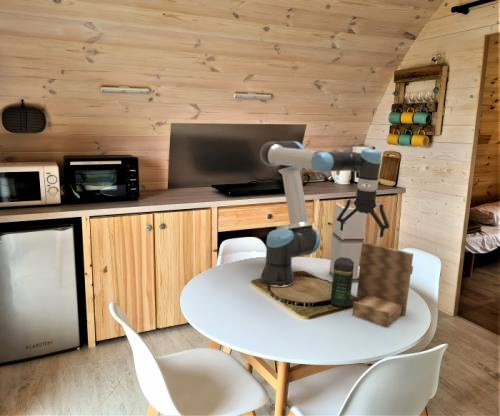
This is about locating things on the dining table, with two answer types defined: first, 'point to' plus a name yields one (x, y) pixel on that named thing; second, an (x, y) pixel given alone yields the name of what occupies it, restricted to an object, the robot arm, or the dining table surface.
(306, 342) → the dining table surface
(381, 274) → the wooden stand
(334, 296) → the coffee jar
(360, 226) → the grey seamed pillar
